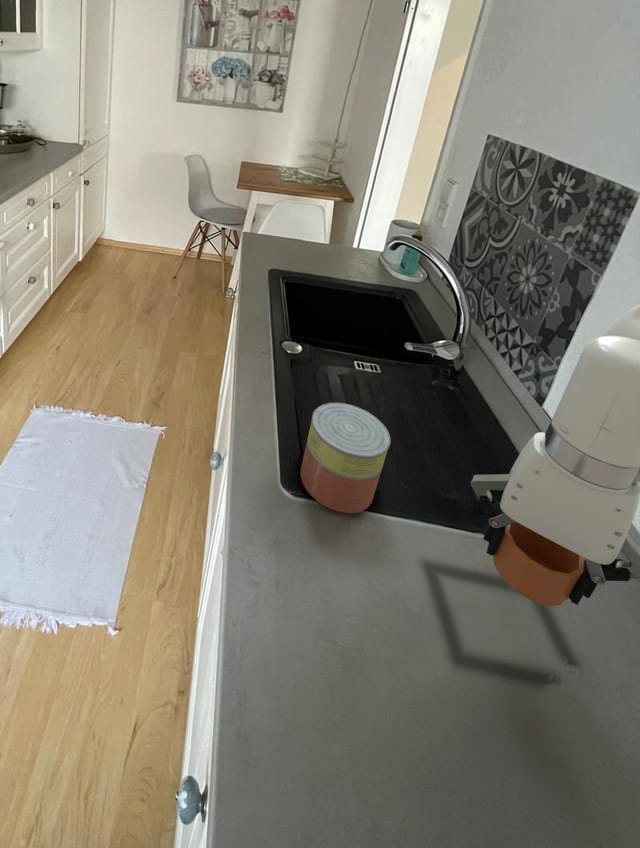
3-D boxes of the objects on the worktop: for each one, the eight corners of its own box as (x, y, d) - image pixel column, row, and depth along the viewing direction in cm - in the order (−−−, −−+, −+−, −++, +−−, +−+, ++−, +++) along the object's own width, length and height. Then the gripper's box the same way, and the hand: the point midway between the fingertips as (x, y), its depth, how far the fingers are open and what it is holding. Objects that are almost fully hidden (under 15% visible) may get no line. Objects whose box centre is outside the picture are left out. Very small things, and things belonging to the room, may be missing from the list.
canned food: (375, 476, 82) (392, 418, 78) (369, 530, 73) (388, 468, 68) (306, 450, 87) (318, 393, 82) (291, 498, 77) (305, 437, 73)
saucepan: (564, 621, 53) (582, 590, 51) (487, 575, 58) (501, 545, 56) (572, 536, 63) (587, 508, 61) (505, 502, 67) (517, 474, 65)
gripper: (704, 479, 49) (628, 597, 55) (497, 394, 59) (455, 503, 65) (715, 530, 43) (630, 655, 50) (485, 428, 53) (440, 543, 60)
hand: (531, 568), depth 58 cm, fingers closed on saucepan, 7 cm apart
